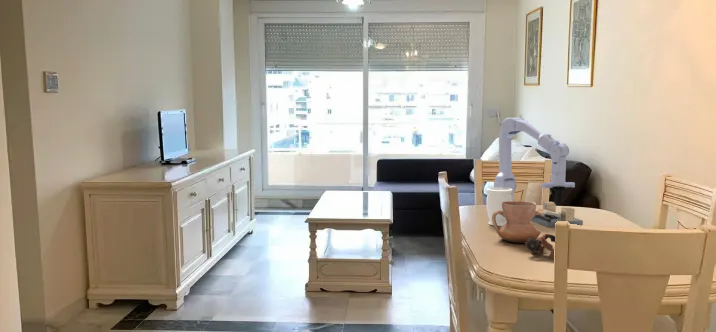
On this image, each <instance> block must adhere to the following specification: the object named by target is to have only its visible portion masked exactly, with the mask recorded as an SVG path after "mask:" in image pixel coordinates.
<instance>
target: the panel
mask: <svg viewBox="0 0 716 332" xmlns="http://www.w3.org/2000/svg"><path fill="white" fill-rule="evenodd" d="M542 204H543V205H542V209H543V210H548V211H552V212H555V213H558V214H561V217H557V216H554V218H553V217H550V216H547V215H544V213H543V214H542V215H540V214H538V215H535V216H534V217H533V218H532V220H531V222H533V223H536V224H538V225H541V226H544V227H546V228H553V227H554V226H555V223H556V222H557V221H568V222H569V223H570V224H577V225H580V226H583V225H584V220H583V219H579V218H577V217H575V211H576V209H575V208H573V207H561V208H560V212H556V209H557V205H556V204H555V203H554V201H543V202H542ZM554 228H555V227H554Z"/></svg>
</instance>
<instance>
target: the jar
mask: <svg viewBox="0 0 716 332" xmlns="http://www.w3.org/2000/svg"><path fill="white" fill-rule="evenodd" d="M486 192H487V195H486V212H487V217H488V219H489V221H488V225H491V226H493V227H495V226H494V225H493V222H492V214H493V213H494V212H495V211H497V210H500V211H503V209H502V202H505V201H512V196H511V192H512V189H510V188H502V187H494V186H493V187H488V188H486ZM496 223H497V226H498V227H502V226H503V225H505V224H506V223H507V220H506V218H505V217H503V216H502V215H500V214H497V215H496Z"/></svg>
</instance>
